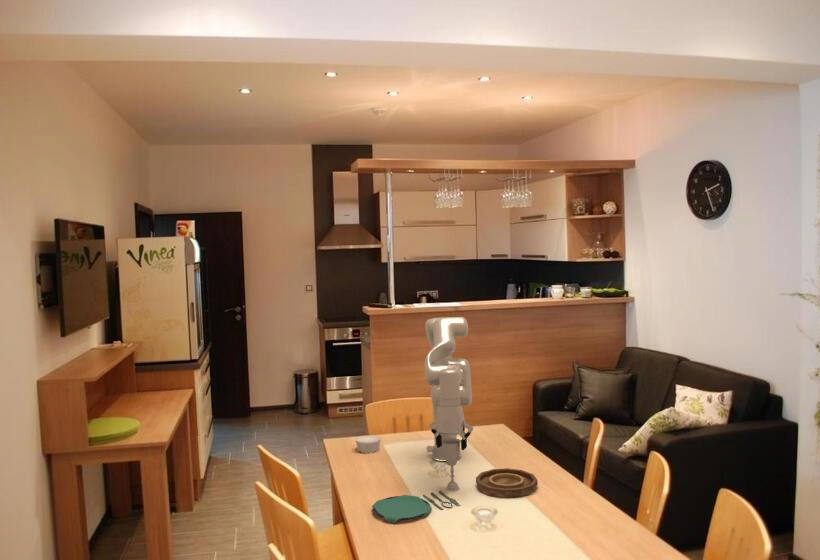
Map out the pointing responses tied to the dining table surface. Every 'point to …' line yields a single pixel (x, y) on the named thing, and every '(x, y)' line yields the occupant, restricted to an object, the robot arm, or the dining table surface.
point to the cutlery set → (407, 507)
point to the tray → (506, 483)
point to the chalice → (451, 459)
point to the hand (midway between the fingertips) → (451, 448)
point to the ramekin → (368, 443)
